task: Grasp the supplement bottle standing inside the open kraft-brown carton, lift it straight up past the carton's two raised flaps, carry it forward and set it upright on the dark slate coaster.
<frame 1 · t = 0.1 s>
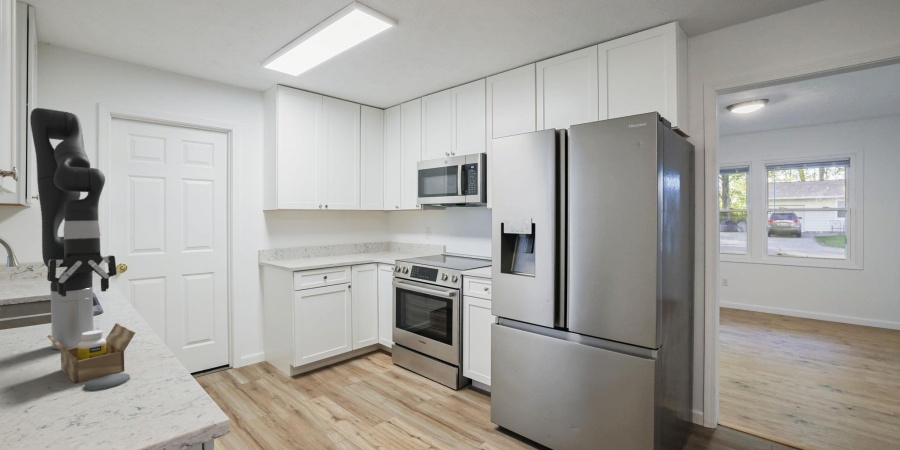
hand: (84, 293, 111), 17 cm above the countertop, tool pointing down, fingers open, 8 cm apart
supplement bottle: (92, 370, 100), resting in carton
carton: (92, 370, 100), on the countertop
coaster: (107, 382, 92), on the countertop
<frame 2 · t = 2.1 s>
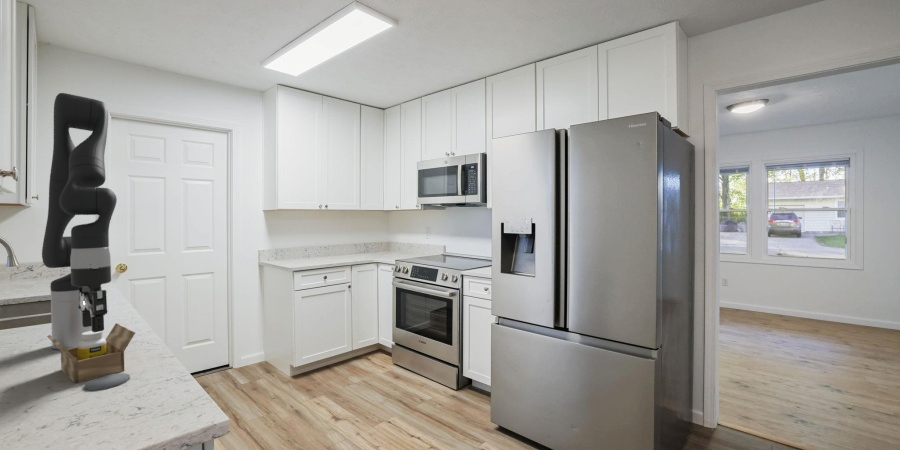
hand: (93, 328, 99), 11 cm above the countertop, tool pointing down, fingers open, 8 cm apart
nothing on the countertop moved.
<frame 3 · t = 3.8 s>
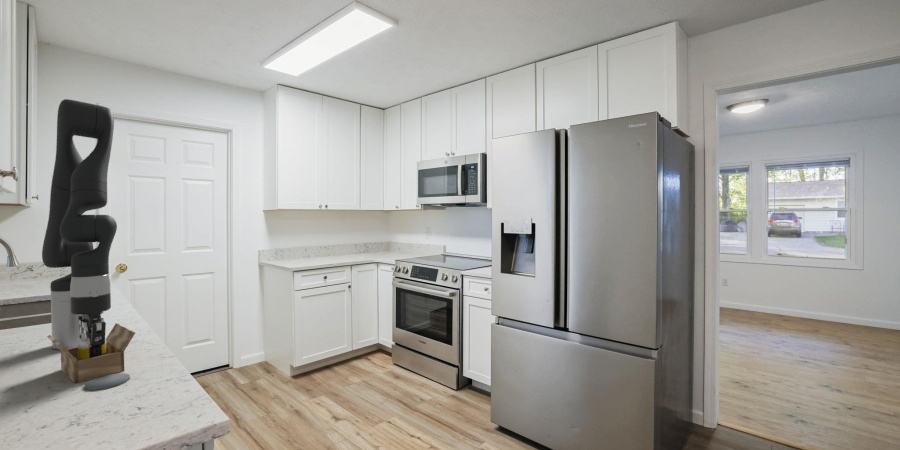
hand: (92, 358, 100), 3 cm above the countertop, tool pointing down, fingers closed on supplement bottle, 5 cm apart
supplement bottle: (92, 370, 100), resting in carton, touching gripper
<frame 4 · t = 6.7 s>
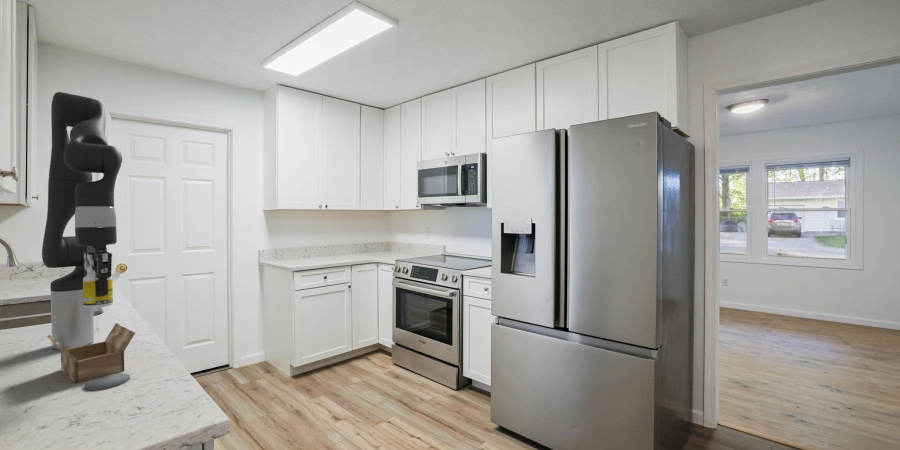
hand: (98, 294, 96), 20 cm above the countertop, tool pointing down, fingers closed on supplement bottle, 5 cm apart
supplement bottle: (98, 307, 96), point 17 cm above the countertop, touching gripper
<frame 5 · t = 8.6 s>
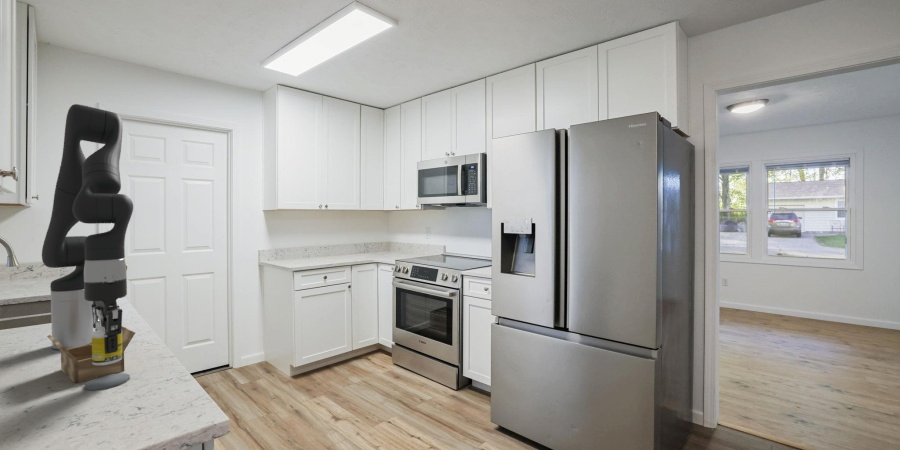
hand: (107, 349, 92), 8 cm above the countertop, tool pointing down, fingers closed on supplement bottle, 5 cm apart
supplement bottle: (107, 362, 92), point 5 cm above the countertop, touching gripper
when the fingers open (5 cm above the countertop, at t = 10.0 s): supplement bottle drops 1 cm, resting on coaster.
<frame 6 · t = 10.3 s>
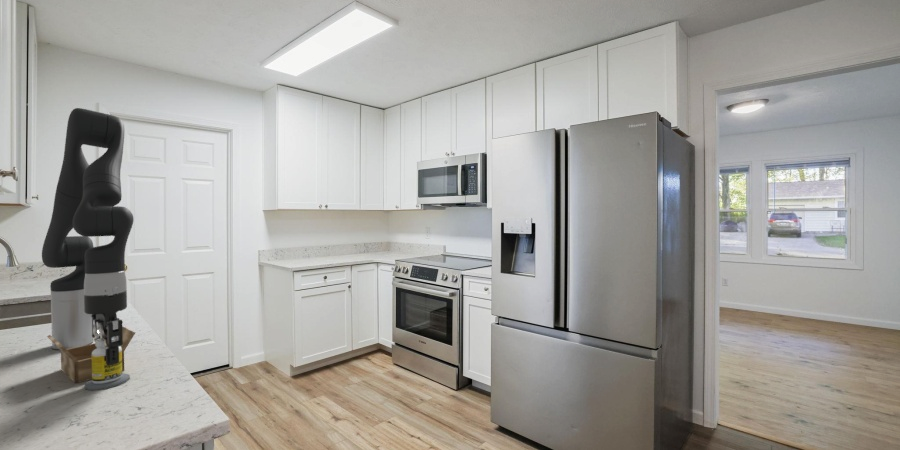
hand: (107, 360, 92), 5 cm above the countertop, tool pointing down, fingers open, 7 cm apart
supplement bottle: (107, 380, 92), resting on coaster
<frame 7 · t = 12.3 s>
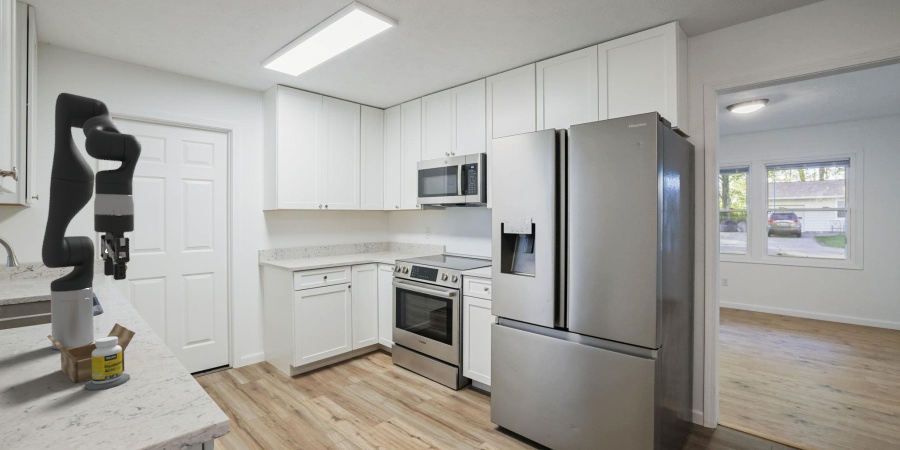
hand: (114, 277, 98), 24 cm above the countertop, tool pointing down, fingers open, 8 cm apart
nothing on the countertop moved.
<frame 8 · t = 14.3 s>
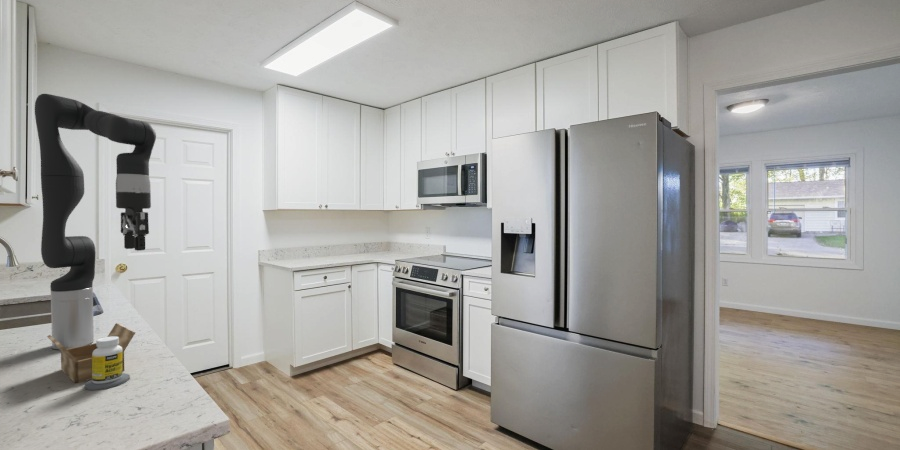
hand: (134, 249, 109), 30 cm above the countertop, tool pointing down, fingers open, 8 cm apart
nothing on the countertop moved.
at the end: supplement bottle 0.2 cm off-centre on the coaster, point 0.4 cm above the coaster's base; supplement bottle tilted 1°; the gripper is holding nothing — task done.
